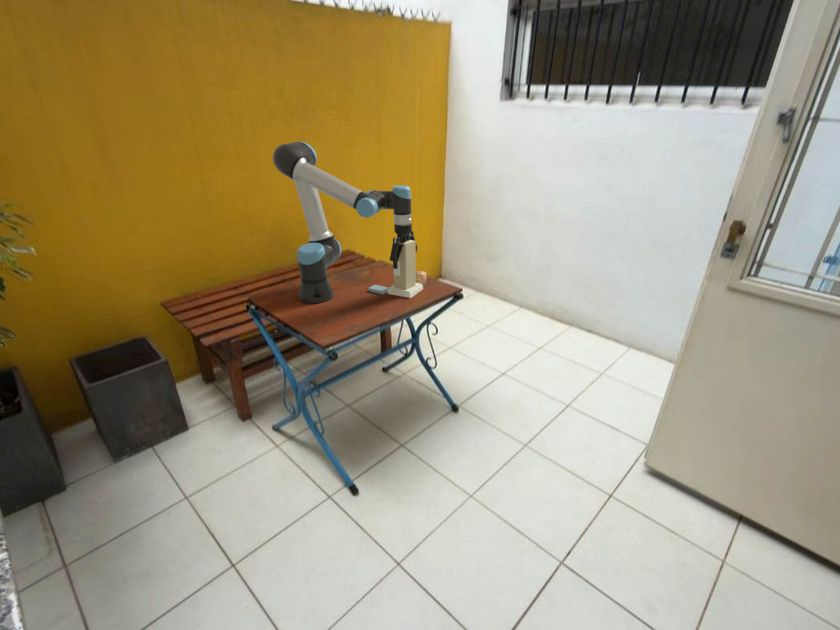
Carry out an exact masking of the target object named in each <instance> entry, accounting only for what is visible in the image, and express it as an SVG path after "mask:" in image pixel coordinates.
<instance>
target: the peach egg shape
mask: <svg viewBox="0 0 840 630" xmlns="http://www.w3.org/2000/svg"><path fill="white" fill-rule="evenodd" d="M416 283H421V284H422V285H423V287H426V286H427V272H426V271H423V270H418V271H416Z"/></svg>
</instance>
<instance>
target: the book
mask: <svg viewBox="0 0 840 630" xmlns="http://www.w3.org/2000/svg"><path fill="white" fill-rule="evenodd" d="M367 289H368V292H371V293H375V294H378V295H384V294H386V293H387V290H388V289H389V287H387V286H382V285H379V284H373V285H372V286H369V287H368V288H367Z"/></svg>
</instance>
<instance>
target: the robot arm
mask: <svg viewBox="0 0 840 630" xmlns="http://www.w3.org/2000/svg"><path fill="white" fill-rule="evenodd" d="M317 157H318V156H317V153H316V151H315V149H314V148H313V147H312V146H311V145H310V144H308V143H307V142H304V141H294V142H289V143H282V144H280V145H278V146H277V147H276V148H275V149H274V151H273V154H272V161H273V165H274V167H275V169H277V170H278V172H279V173H281V174H283V175H284V176H285V177H287V178H289V179H290V180H292V181H293V182H294V184H295V188H296V191H297V195H298V197H299V198H298V199H299V201H300V205H301V207H302V212H303V215H304V218H305V221H306V225H307V229H308V232H309V235H310V236H309V238H308V239H307V240H308V243H305V244H302V245H301V246H300V247H298V248H297V250H296V255H297V256H296V260H297V263H298V264H297V265H298V270H299V276H300V277H299V278H300V286H299V287H300V288H299V292H298V296H299V297H298V299H299V300H300V301H301V302H303V303H305V304H319V303H324V302H328V301H329V300H331V299H333V297H334V296H335V295H334V289H333V288H332V286H331V283H330V281H329V278H328V270H327V268H329V267H330V266H331V265H332V264H334V263H336V262H337V261H338V260H339V258H340V256H341V254H342V247H341V243H340V242H339V240H337V239H336V238H335V236H334V233H333V232H331V231H330V230H329V226H328V223H327V219H326V215H325V212H324V208H323V204H322V201H321V197H320V194H319V192H322V193H323V194H325V195H327V196H329V197H330V198H333V199H335V200H337V201H339V202H340V203H342V204H344V205H346V206H348V207H350V208H353V209H354V210H356V212H357V214H358V215H359V216H360V217H361V218H366V219H369V218H371V217H373V216H375V215H376V214H377V213H378V212H380V211H381V210H393V224H394V226H393V227H394V228H393V229H394V233H395V234H396V237H393V238H392V246H391V251H390V254H389V255H390V256H389V262H392V266H393V269H394V270H393V276H394V275H397V276H400V264H399V261H398V259H399V256H400V253H401V250H402V247H403V244H402V245H399V243H405V242H406V241H407V240H408V241H409V240H413V241H415V242H416V241H417V240H416V239H415V235H414V231H413V225H412V218H413V217H412V195H411V194H412V193H411V188H410V186H408V185H394V186H393V187H392V190H375V189H374V190H367V191H366V192H364V191H362V190H360V189H358V188H357V187H355V186H353V185H351V184H349V183H347V182H345V181H343V180H342V179H340V178H338V177H335V176H333V175H332V174H330V173H328V172H326V171H324V170H322V169H320V168H319V167H316V164H317V160H318V159H317ZM416 243H417V242H416ZM417 252H418V245H417V244H416V253H417Z"/></svg>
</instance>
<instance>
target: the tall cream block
mask: <svg viewBox="0 0 840 630" xmlns="http://www.w3.org/2000/svg"><path fill="white" fill-rule="evenodd" d="M415 241H416V240H415ZM415 241H413V240H409V241H408V240H407V241H406V242H405V243H399V245H402V244H403V247H402V250H401V253H400V256H399V259H398V261H399V264H400V276H397V275H394V274H393V285H394V286H397V287H400V288H403V289H409V288H411V287H414V286H416V272H417V271H416V269H417V268H416V267H417V265H416V262H417V261H416V253H417V252H416V250H417V249H416V245H417V242H415ZM393 271H394V269H393Z"/></svg>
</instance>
